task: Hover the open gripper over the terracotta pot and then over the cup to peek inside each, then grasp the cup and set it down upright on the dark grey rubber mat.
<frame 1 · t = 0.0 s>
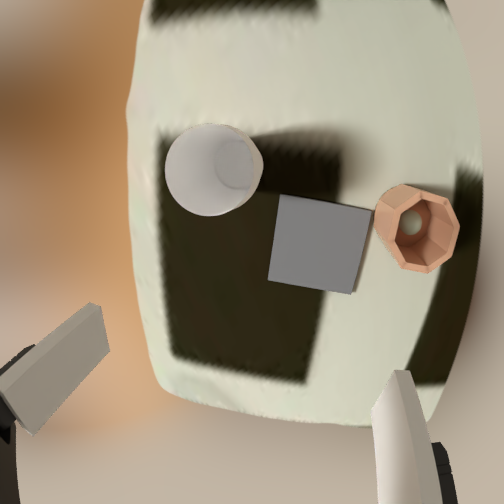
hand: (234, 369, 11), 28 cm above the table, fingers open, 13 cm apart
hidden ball: (410, 222, 31), point 3 cm above the table, touching pot
mat: (318, 245, 37), on the table
cup: (238, 165, 36), on the table
pot: (403, 217, 33), on the table
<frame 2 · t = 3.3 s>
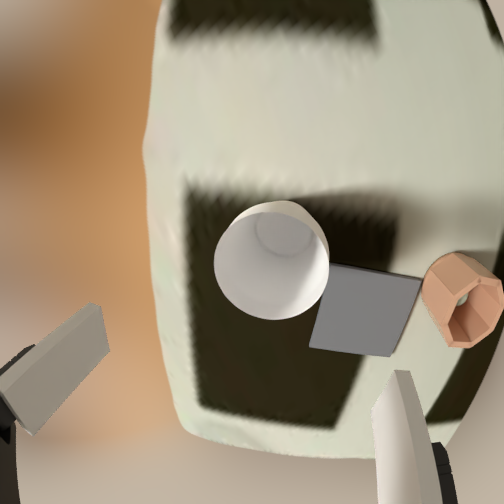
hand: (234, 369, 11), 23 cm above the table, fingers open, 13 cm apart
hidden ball: (457, 292, 27), point 3 cm above the table, touching pot
mat: (364, 313, 33), on the table
cup: (284, 228, 32), on the table
pot: (449, 284, 30), on the table
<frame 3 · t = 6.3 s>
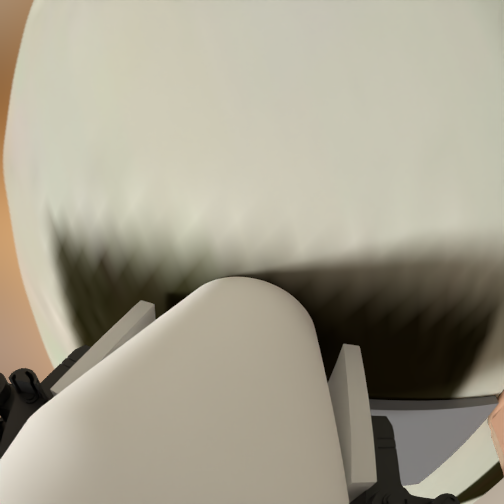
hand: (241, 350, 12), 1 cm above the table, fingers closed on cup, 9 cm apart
mat: (394, 450, 14), on the table
cup: (246, 336, 13), on the table, touching gripper
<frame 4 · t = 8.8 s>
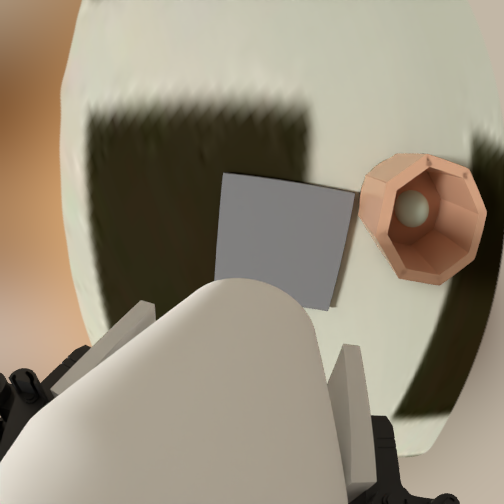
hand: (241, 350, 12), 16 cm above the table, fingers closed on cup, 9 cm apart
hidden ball: (411, 208, 21), point 3 cm above the table, touching pot
mat: (280, 243, 27), on the table
cup: (246, 337, 13), point 15 cm above the table, touching gripper
pot: (402, 203, 23), on the table
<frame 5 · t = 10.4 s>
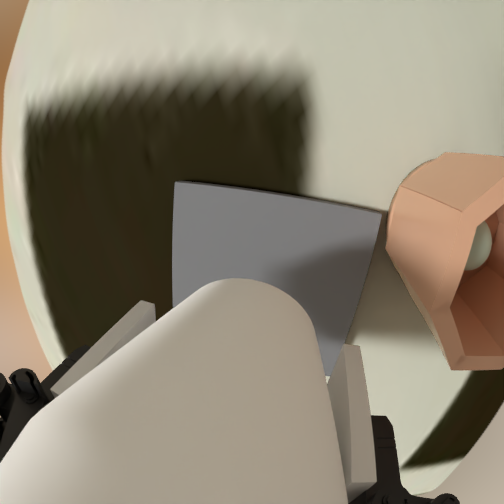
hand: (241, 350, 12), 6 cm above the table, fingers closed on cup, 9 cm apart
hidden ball: (466, 240, 12), point 3 cm above the table, touching pot
mat: (264, 286, 18), on the table
cup: (246, 337, 13), point 5 cm above the table, touching gripper
pot: (447, 228, 14), on the table
when the fingers open (3 cm above the table, at t = 11.6 s): cup drops 1 cm, resting on mat.
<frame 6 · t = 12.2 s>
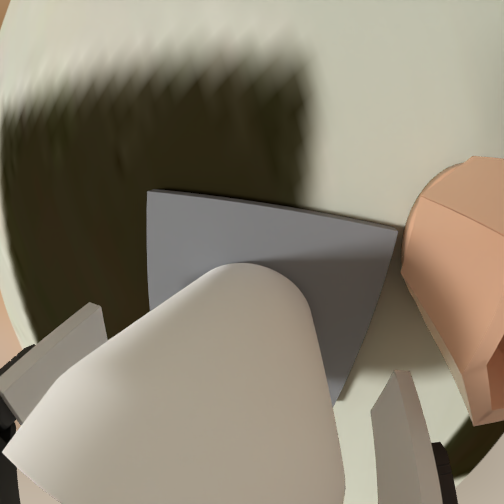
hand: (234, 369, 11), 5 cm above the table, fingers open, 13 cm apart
mat: (254, 314, 15), on the table
cup: (248, 319, 14), point 1 cm above the table, touching mat
pot: (471, 246, 11), on the table
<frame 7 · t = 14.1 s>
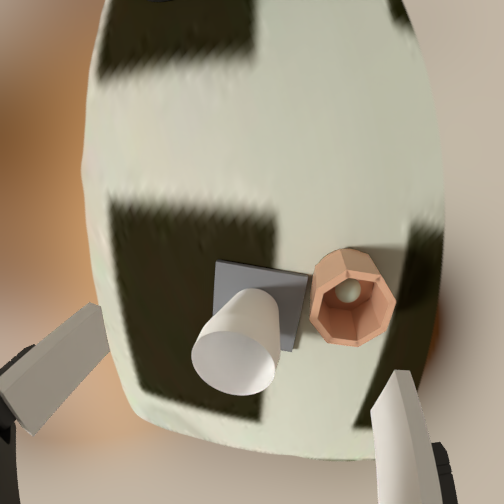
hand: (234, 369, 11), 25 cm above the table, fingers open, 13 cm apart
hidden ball: (347, 289, 32), point 3 cm above the table, touching pot
mat: (257, 307, 38), on the table
cup: (254, 309, 38), point 1 cm above the table, touching mat
pot: (345, 281, 35), on the table
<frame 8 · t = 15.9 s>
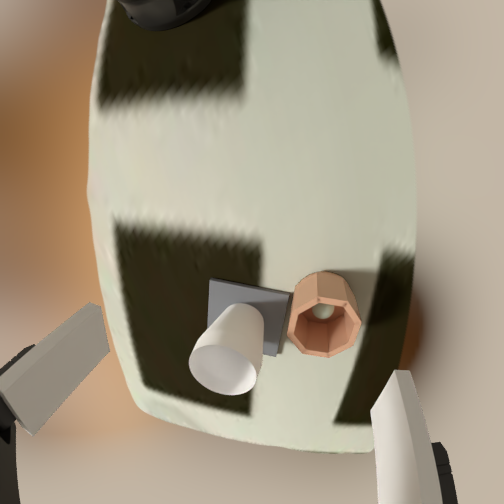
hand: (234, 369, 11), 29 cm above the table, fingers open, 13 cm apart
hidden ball: (323, 307, 38), point 3 cm above the table, touching pot
mat: (245, 318, 44), on the table
cup: (243, 320, 43), point 1 cm above the table, touching mat
pot: (322, 298, 40), on the table
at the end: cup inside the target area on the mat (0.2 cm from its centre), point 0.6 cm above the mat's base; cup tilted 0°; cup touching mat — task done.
